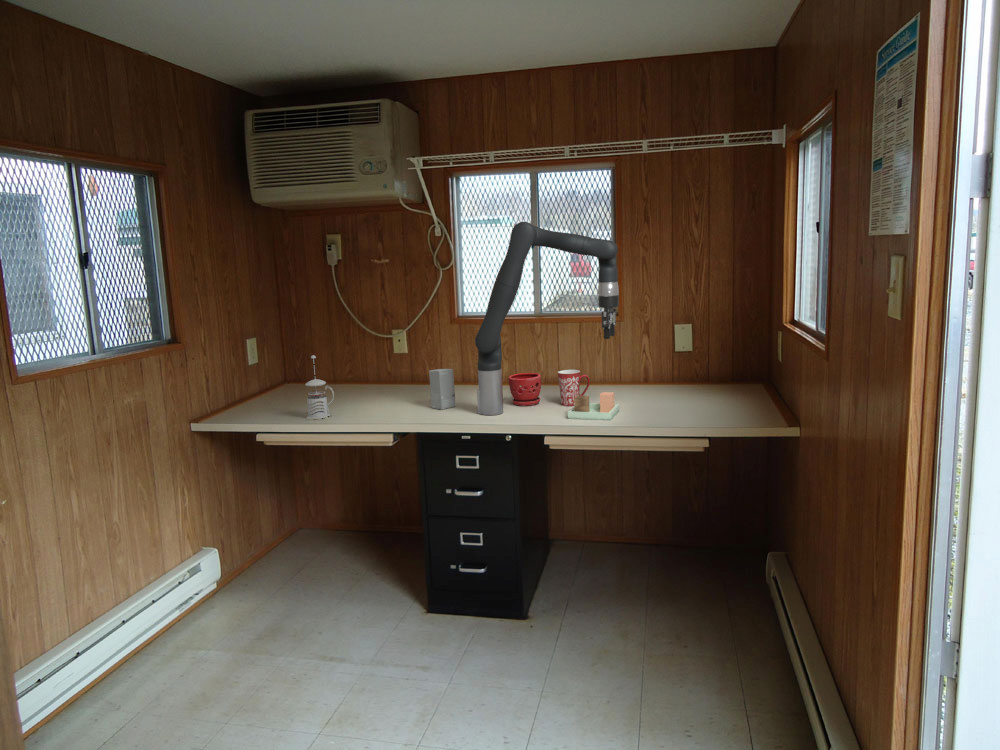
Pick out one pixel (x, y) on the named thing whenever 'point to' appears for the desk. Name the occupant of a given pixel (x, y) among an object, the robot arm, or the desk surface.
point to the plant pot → (525, 388)
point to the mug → (570, 386)
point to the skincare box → (442, 388)
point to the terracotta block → (606, 401)
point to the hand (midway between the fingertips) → (609, 337)
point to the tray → (593, 413)
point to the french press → (314, 399)
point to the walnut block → (581, 403)
